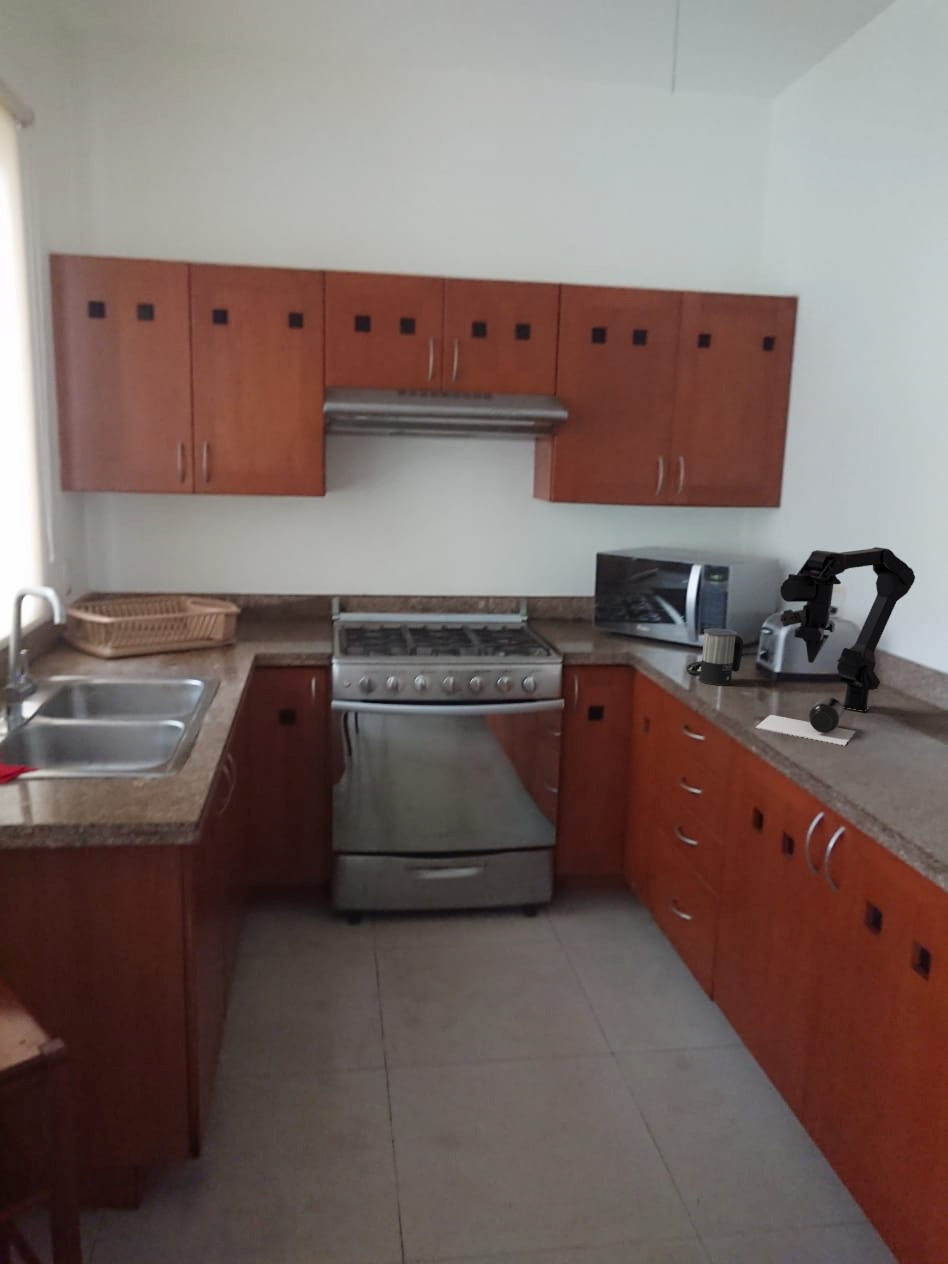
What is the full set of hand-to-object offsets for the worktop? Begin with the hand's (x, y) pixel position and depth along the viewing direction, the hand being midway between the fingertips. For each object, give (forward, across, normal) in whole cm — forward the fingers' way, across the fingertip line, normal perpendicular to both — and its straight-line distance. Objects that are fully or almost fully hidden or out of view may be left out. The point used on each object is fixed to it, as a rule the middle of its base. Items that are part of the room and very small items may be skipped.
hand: (810, 662), depth 232 cm
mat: (+13, +18, +4) cm, 22 cm away
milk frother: (+13, -18, -31) cm, 38 cm away
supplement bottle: (+9, +9, +7) cm, 15 cm away
